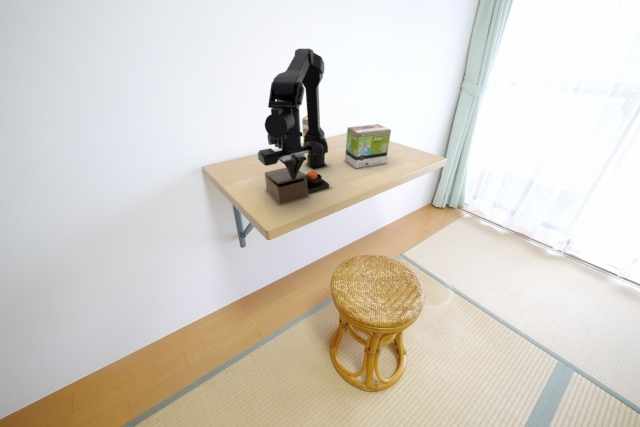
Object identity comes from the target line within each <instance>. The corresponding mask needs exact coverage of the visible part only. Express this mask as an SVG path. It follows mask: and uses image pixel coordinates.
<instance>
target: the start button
mask: <svg viewBox="0 0 640 427" xmlns="http://www.w3.org/2000/svg"><path fill="white" fill-rule="evenodd" d="M306 174H307V175H308V177H307V178H308V179H317V178H318V177H317V174H318V171H316V170H315V171H314V170H311V171H307V173H306Z"/></svg>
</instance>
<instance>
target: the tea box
mask: <svg viewBox="0 0 640 427" xmlns="http://www.w3.org/2000/svg"><path fill="white" fill-rule="evenodd" d="M391 132H392V130H391V129H390V128H388V127H385V126H383V125H381V124H378V123H377V124H367V125H357V126H348V127H347V132H346V143H345V144H346V145H345V154H344V155H345V157H344V161H345V162H346V163H348V164H349V165H350V166H352V167H353V168H354V169H359V168H364V167H371V166H378V165H385V164H386V163H387V157H388V151H389V146H390V138H391V134H392V133H391Z"/></svg>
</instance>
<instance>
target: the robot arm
mask: <svg viewBox="0 0 640 427" xmlns="http://www.w3.org/2000/svg"><path fill="white" fill-rule="evenodd" d="M324 74H325V62H324V59H323V57H322V56H321V55H319V54H317V53H316V52H314V50H313V49H311V48H297V49H295V51H294V56H293V58H292V59H291V61H290V63H289V65H288V67H287V68H286V70H285V71H282V72H280V73H278V74H277V75H276V76H275V77H274V78H273V80H272V82H271V85H270V91H269V98H268V104H267V107H268V109H270V114H269V115H267V117H266V119H265V121H264V130H265V131H266V133H267V142H268V145H269V146H272V145H274V148H278V150H276V151H275V150H274V149H272V148H271V147H270V148H265V149H259V150H258V152H257V159H258V161H259V162H260V163H262V164H263V165H264V166H266V167H268V166H273V165H276V164H277V163H278V162H280V163H282V164H283V165H284V166H285V168H287V170H288V172H289V174H290V176H291V178H292V179H293V180H294V179H295V178H296V176H297V174H298V171H300V169H301V168H302V165H303V164H304V162H305V161H306V166H308V167H309V168H311V169H312V170H316V169H321V168H324V167H327V164H326V163H325V162H326V161H325V159H326V158H325V156H326V154H328V153H329V146H328V145H329V144H328V142H327V141H328V140H327V138H326V136H325V131H324V130H323V129H322V127H321V116H320V113H321V112H320V94H319V93H320V89H319V87H320V84H321V82H322V80H323V78H324ZM304 95H305V101H306V116H307V117H308V131H307V133H306V135H305V137H304V143H303V144H302V138H301V137H303V131H301V118H300V117H301V115H300V107H301V106H302V105H303V100H304ZM306 153H307V155H306V156H305V154H306Z"/></svg>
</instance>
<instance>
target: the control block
mask: <svg viewBox="0 0 640 427" xmlns="http://www.w3.org/2000/svg"><path fill="white" fill-rule="evenodd" d="M305 174H306V175H307V173H305ZM317 177H318V178H317V179H308V178H307V177H306V178H305V179H306V180H307V189H308V195H310V194H315V193H317V192H321V191H324V190H329V189H330V183H329V182H327V181H326V180H324V179H323V178H322V175H321V174H320V173H317Z"/></svg>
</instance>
